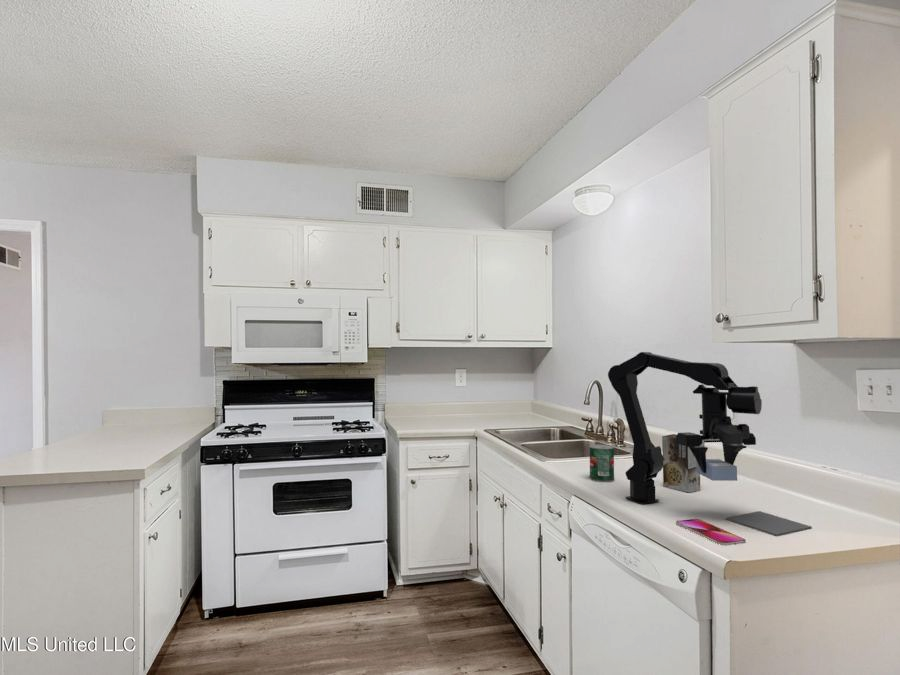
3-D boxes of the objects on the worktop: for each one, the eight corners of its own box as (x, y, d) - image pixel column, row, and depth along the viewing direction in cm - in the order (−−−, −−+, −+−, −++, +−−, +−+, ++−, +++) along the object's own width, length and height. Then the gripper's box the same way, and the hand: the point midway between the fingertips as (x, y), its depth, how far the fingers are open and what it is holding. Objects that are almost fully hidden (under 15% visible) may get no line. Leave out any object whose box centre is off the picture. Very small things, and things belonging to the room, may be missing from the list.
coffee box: (701, 490, 155) (700, 437, 156) (688, 493, 152) (687, 439, 152) (674, 483, 163) (673, 433, 164) (662, 486, 160) (661, 435, 160)
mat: (725, 519, 128) (725, 517, 128) (759, 512, 133) (759, 511, 133) (776, 536, 116) (776, 534, 116) (811, 528, 121) (811, 526, 122)
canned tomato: (585, 477, 171) (584, 444, 172) (604, 475, 174) (604, 443, 174) (598, 483, 164) (598, 449, 164) (619, 481, 166) (619, 447, 167)
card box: (696, 472, 135) (696, 458, 135) (719, 472, 135) (719, 458, 135) (712, 480, 126) (712, 466, 126) (737, 480, 126) (736, 465, 126)
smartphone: (721, 543, 111) (673, 520, 125) (721, 548, 111) (673, 524, 125) (748, 540, 113) (698, 518, 127) (748, 544, 113) (698, 522, 127)
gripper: (698, 415, 122) (700, 481, 122) (770, 414, 124) (772, 478, 123) (673, 411, 133) (675, 470, 133) (740, 409, 135) (742, 468, 134)
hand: (716, 472), depth 131 cm, fingers closed on card box, 6 cm apart
